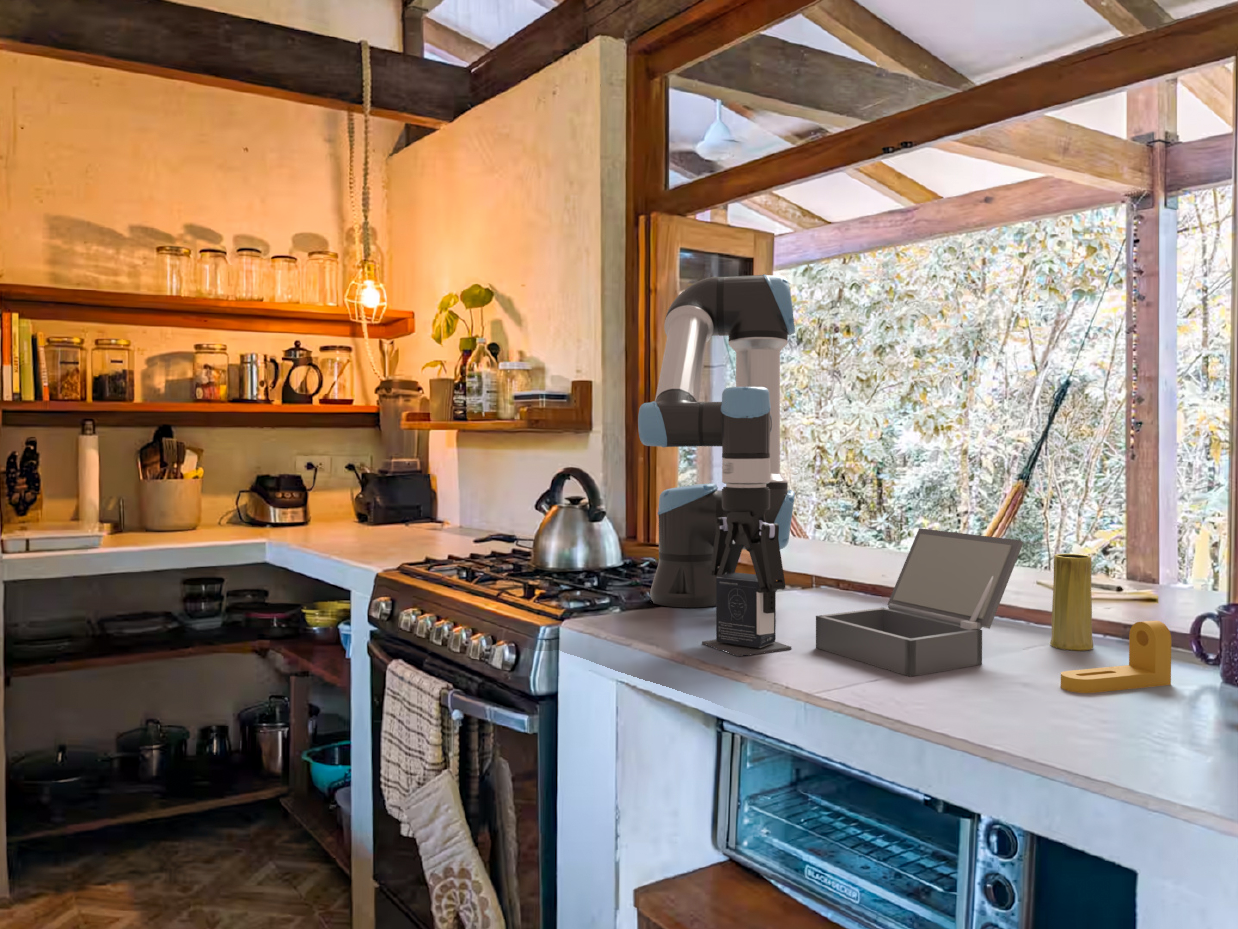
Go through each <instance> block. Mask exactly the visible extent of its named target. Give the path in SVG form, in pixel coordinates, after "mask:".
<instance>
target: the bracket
mask: <svg viewBox="0 0 1238 929" xmlns="http://www.w3.org/2000/svg"><path fill="white" fill-rule="evenodd" d="M1128 639H1129V640H1128V641H1129V642H1128V644H1129V646H1128V649H1129V650H1128V664H1126V665H1125V664H1124V665H1119V666H1116V665H1114V666H1106V667H1105V666H1104V667H1095V668H1094V667H1093V668H1085V669H1074V670H1073V669H1072V670H1064V671H1061V672H1060V688H1061V689H1062V690H1064V691H1068V692H1071V693H1077V694H1094V693H1106V692H1114V691H1126V690H1134V689H1143V688H1144V689H1145V688H1153V687H1164V686H1171V685H1172V634H1171V632H1170V629H1169V628H1168V626H1167V625H1166V624H1165V623H1164V622H1162V621H1160V620H1146V621H1145V620H1143V621H1137V622H1135V623H1133V624H1132V625H1131V627H1130V630H1129V635H1128Z"/></svg>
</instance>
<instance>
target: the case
mask: <svg viewBox="0 0 1238 929" xmlns="http://www.w3.org/2000/svg"><path fill="white" fill-rule="evenodd" d="M914 537H915V538H914V540H913V542H912V545H911V546H910V549H909V551H908V553H907V556H906V558H905V561H904V563H903V566H902V568H901V571H900V573H899V576H898V578H897V581H896V582H895V586H894V588H893V590H892V592H891V595H890V597H889V599H888V602H887V606H888V608H887V607H878V608H868V609H862V610H854V611H853V610H852V611H847V612H838V613H829V614H823V615H815V648H816V649H819V650H823V651H826V652H828V653H832V654H835V655H838V656H841V657H844V658H848V659H852V660H854V661H858V662H861V663H864V662H865V663H864V664H868V665H871V666H875V667H876V668H877V667H878V668H881V669H883V670H887V669H888V670H887V671H890V670H891V671H890V672H893V673H898V674H900V675H903V676H906V675H908V676H907V677H910V676H912V677H916V676H915V675H918V676H923V675H928V674H934V673H940V672H945V671H951V670H957V669H964V668H969V667H976V666H981V665H983V630H982V628H985V629H991V627H992V624H993V621H994V620H995V617H996V614H997V611H998V609H999V606H1000V605H1001V604H1000V603H1001V601H1002V599H1003V595H1004V594H1005V591H1006V589H1007V586H1008V583H1009V580H1010V578H1011V576H1012V573H1013V570H1014V567H1015V565H1016V564H1017V561H1018V558H1019V555H1020V553H1021V550H1022V548H1023V545H1024V541H1022V540H1020V539H1014V538H1013V539H1012V538H1004V537H996V536H988V535H987V536H986V535H979V534H970V533H962V532H953V531H946V530H936V529H928V528H920V527H919V528H918V531H917V532H916V535H915V536H914Z"/></svg>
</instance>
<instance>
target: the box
mask: <svg viewBox="0 0 1238 929" xmlns="http://www.w3.org/2000/svg"><path fill="white" fill-rule="evenodd" d="M766 584H767V581H766ZM759 588H760V586H759V583H758V580H757V576H756V573H755V574H753V573H744V572H742V573H741V572H735V573H734V572H732V573H728V574H724V575H721V576H717V577H716V607H715V614H716V616H715V618H716V619H715V621H716V622H715V624H716V628H715V632H716V634H715V635H716V639H715V640H716V641H717V642H721V643H728V644H736V645H743V646H749V647H756V648H761V647H764V646H767V645H769V644H771V643H774V642H776V631H777V630H776V624H777V623H776V622H777V621H776V619H777V618H776V614H777V612H776V609H777V608H776V606H777V605H776V598H777V597H776V593H777V592H776V593H775V613H774V633H771V634H763V635H758V634H757V590H758V589H759Z"/></svg>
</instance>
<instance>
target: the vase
mask: <svg viewBox="0 0 1238 929" xmlns="http://www.w3.org/2000/svg"><path fill="white" fill-rule="evenodd" d="M1052 584H1053V585H1052V586H1053V589H1052V604H1051V605H1052V606H1051V607H1052V609H1051V639H1050V643H1049V644H1050V646H1051V647H1053V648H1055V649H1059V650H1065V651H1073V652H1074V651H1075V652H1082V651H1083V652H1084V651H1085V652H1086V651H1092V650H1093V649H1094V642H1093V626H1092V625H1093V624H1092V623H1093V606H1092V602H1093V601H1092V600H1093V598H1092V556H1091V555H1088V554H1082V553H1080V554H1079V553H1056V554H1054V556H1053V583H1052Z"/></svg>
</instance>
